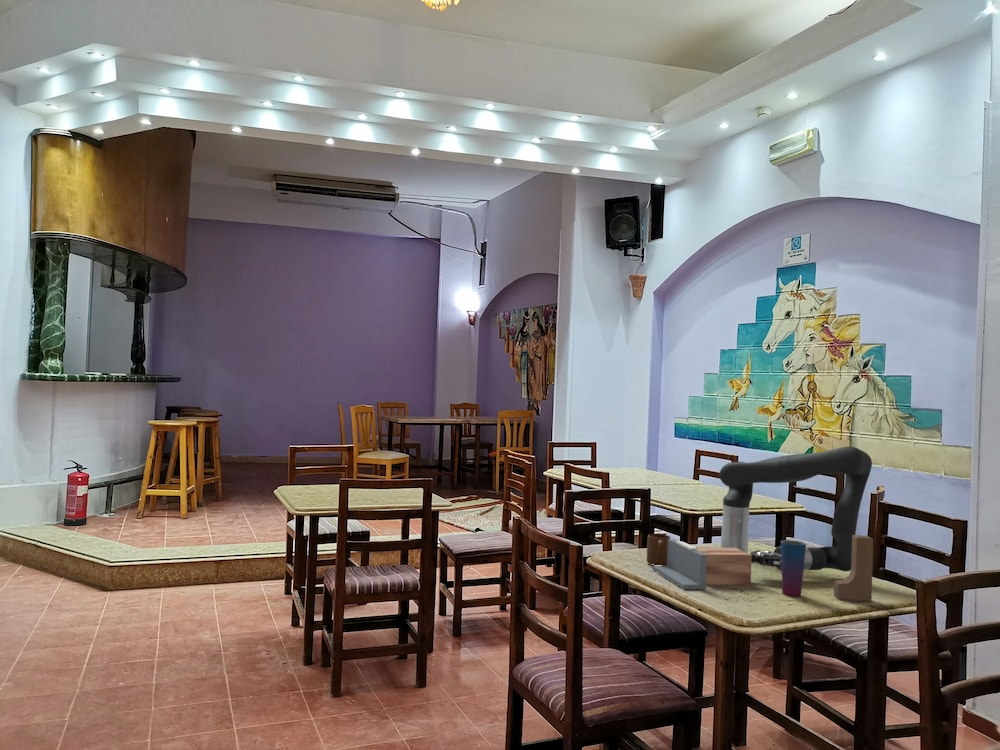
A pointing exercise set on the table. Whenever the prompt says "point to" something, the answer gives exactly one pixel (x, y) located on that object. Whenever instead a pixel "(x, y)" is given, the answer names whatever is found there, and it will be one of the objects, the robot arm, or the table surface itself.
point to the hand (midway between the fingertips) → (742, 558)
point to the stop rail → (684, 565)
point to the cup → (792, 567)
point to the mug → (657, 549)
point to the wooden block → (858, 572)
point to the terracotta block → (727, 565)
